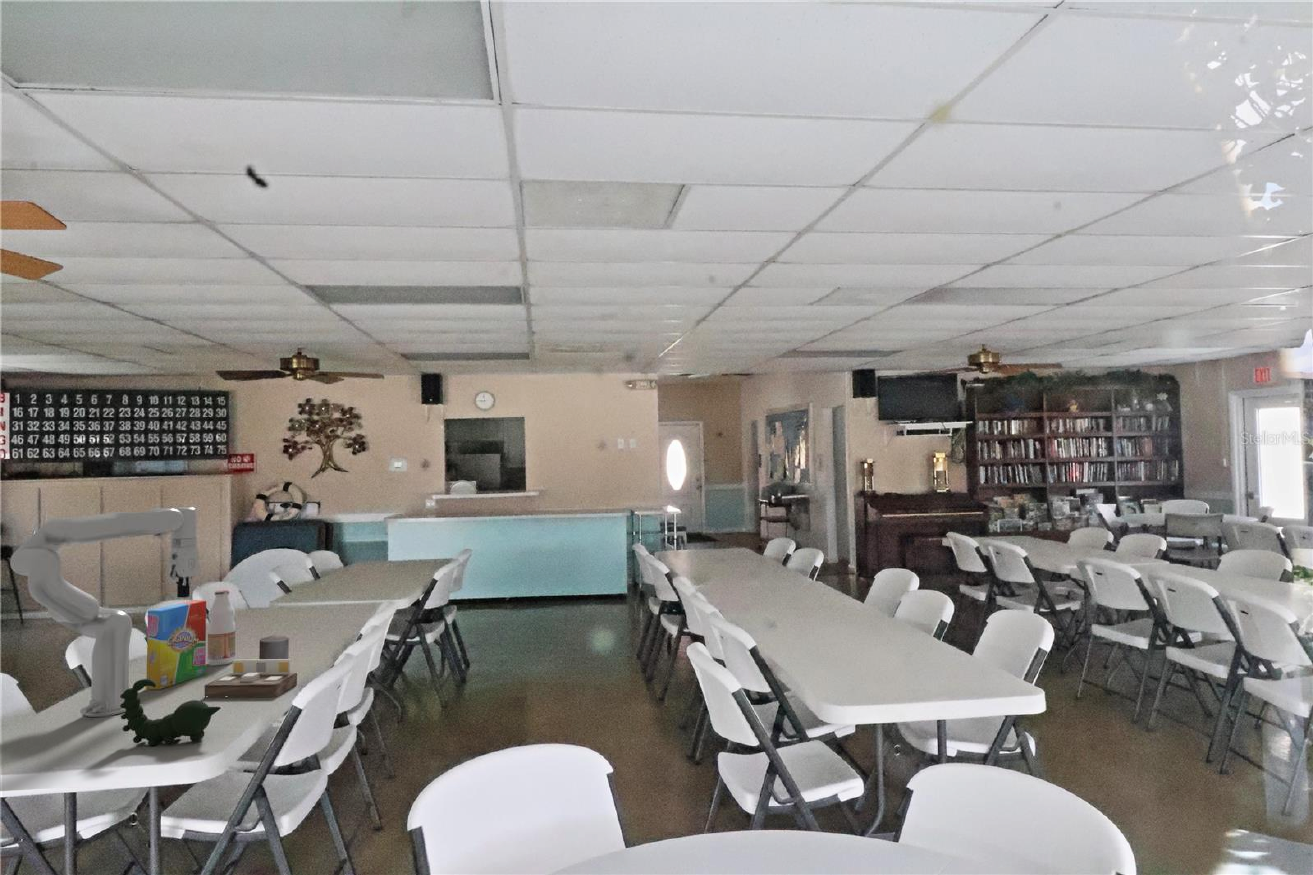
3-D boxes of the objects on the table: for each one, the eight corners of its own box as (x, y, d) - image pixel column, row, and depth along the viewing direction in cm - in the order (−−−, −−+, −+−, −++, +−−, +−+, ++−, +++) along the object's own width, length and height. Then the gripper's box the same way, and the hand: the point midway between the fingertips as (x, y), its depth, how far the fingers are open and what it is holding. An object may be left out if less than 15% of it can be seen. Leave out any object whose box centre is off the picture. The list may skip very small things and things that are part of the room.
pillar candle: (252, 678, 271) (253, 636, 272) (276, 670, 280) (277, 630, 281) (271, 681, 267) (271, 639, 268) (294, 674, 276) (295, 633, 276)
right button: (276, 687, 253) (276, 679, 253) (264, 687, 253) (264, 679, 253) (282, 683, 257) (282, 676, 257) (270, 683, 257) (270, 676, 257)
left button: (229, 687, 253) (229, 680, 253) (217, 687, 253) (217, 680, 253) (236, 683, 257) (236, 676, 257) (224, 683, 257) (224, 676, 257)
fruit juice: (209, 667, 287) (210, 593, 288) (205, 662, 294) (206, 590, 295) (237, 663, 293) (237, 590, 294) (232, 658, 300) (233, 588, 301)
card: (289, 674, 261) (289, 659, 261) (232, 674, 261) (232, 660, 262) (290, 673, 262) (290, 659, 262) (233, 674, 262) (233, 659, 262)
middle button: (252, 683, 253) (252, 676, 253) (241, 683, 253) (241, 676, 253) (259, 679, 257) (259, 672, 257) (247, 680, 257) (247, 672, 257)
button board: (275, 697, 248) (275, 684, 249) (204, 697, 249) (204, 685, 249) (297, 684, 262) (297, 673, 263) (229, 685, 263) (229, 673, 263)
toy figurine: (117, 757, 203) (215, 743, 205) (111, 687, 203) (208, 674, 206) (137, 744, 212) (230, 731, 215) (132, 677, 212) (224, 665, 215)
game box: (158, 690, 258) (159, 610, 259) (145, 689, 259) (146, 610, 260) (206, 673, 278) (206, 600, 279) (193, 673, 279) (194, 599, 280)
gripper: (180, 545, 250) (179, 601, 250) (208, 541, 265) (207, 593, 265) (158, 545, 250) (157, 601, 250) (187, 541, 265) (186, 593, 265)
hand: (183, 596), depth 257 cm, fingers closed
